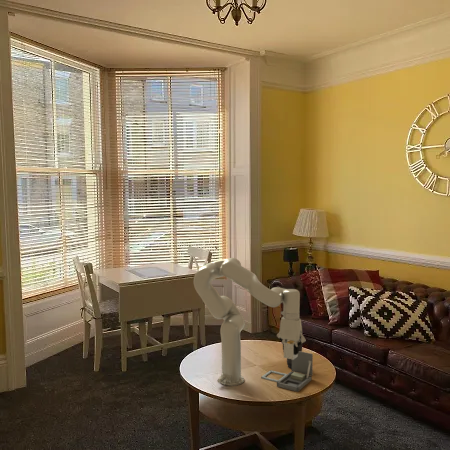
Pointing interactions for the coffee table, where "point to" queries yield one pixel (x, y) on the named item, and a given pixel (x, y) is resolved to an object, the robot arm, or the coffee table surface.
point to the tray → (270, 378)
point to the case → (297, 379)
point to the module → (289, 350)
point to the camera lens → (289, 361)
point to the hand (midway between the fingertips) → (290, 352)
